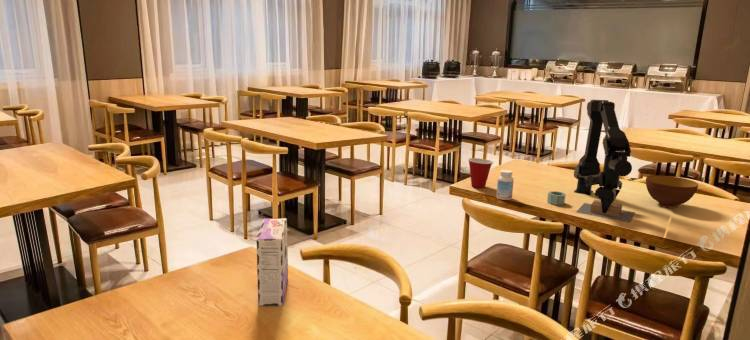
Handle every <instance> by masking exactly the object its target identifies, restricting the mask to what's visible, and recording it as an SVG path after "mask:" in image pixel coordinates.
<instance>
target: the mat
mask: <svg viewBox="0 0 750 340" xmlns="http://www.w3.org/2000/svg"><path fill="white" fill-rule="evenodd" d="M591 204H592V203H588V202H587V203H586V202H584V203H582V205H581V206H580V207H579V208H578V209H577V210H576V211H575V213H578V214H583V215H588V216H593V217H599V218H604V219H609V220H610V219H611V220H615V221H620V222H623V223H624V222H625V223H631V222H632V219H633V217H634V215H635V214H636V211H629V210H625V209H622V210H621V214H620V215H619V217H615V216H610V215H604V214H599V213H594V212H590V210H591Z"/></svg>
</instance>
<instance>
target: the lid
mask: <svg viewBox="0 0 750 340" xmlns="http://www.w3.org/2000/svg"><path fill="white" fill-rule="evenodd" d="M590 204H591V210H590V212H594V213H599V214H604V215H610V216H615V217H619V215H620V214H621V210H623V204H621V203H620V204H619V203H614V202H613V203H612V204H611V205H610V207H609V209H608V210H607V212H606V213H603V212H602V205H601V200H598V199H594V200H593V201H592V202H591V203H590Z"/></svg>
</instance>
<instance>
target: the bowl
mask: <svg viewBox="0 0 750 340" xmlns="http://www.w3.org/2000/svg"><path fill="white" fill-rule="evenodd" d="M645 186H646V190H647V192H648V194H649V195H650V197H651V198H652V199H653V200H655V201H656V202H657V203H658V205H659V206H661V207H663V208H669V209H674V208H677V206H680V205H683V204H685V203H688V201H690V200H691V199H692V198H693V197H694V196H695V194H696V192H697V190H698V187H699V183H697V182H696V181H694V180H691V179H687V178H682V177H678V176H671V175H662V174H661V175H657V174H656V175H655V174H654V175H653V174H652V175H648V176H646V178H645Z"/></svg>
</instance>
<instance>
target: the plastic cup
mask: <svg viewBox="0 0 750 340" xmlns="http://www.w3.org/2000/svg"><path fill="white" fill-rule="evenodd" d="M467 160H468V165H469V173H470V175H469V176H470V177H469V178H470V182H471V183H470V184H471V187H472V188H476V189H484V188H486V185H487V181H488V178H489V174H490V170H491V167H492V165H493V164H494V161H493V160H490V159H486V158H480V157H479V158H477V157H470V158H468V159H467Z"/></svg>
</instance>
